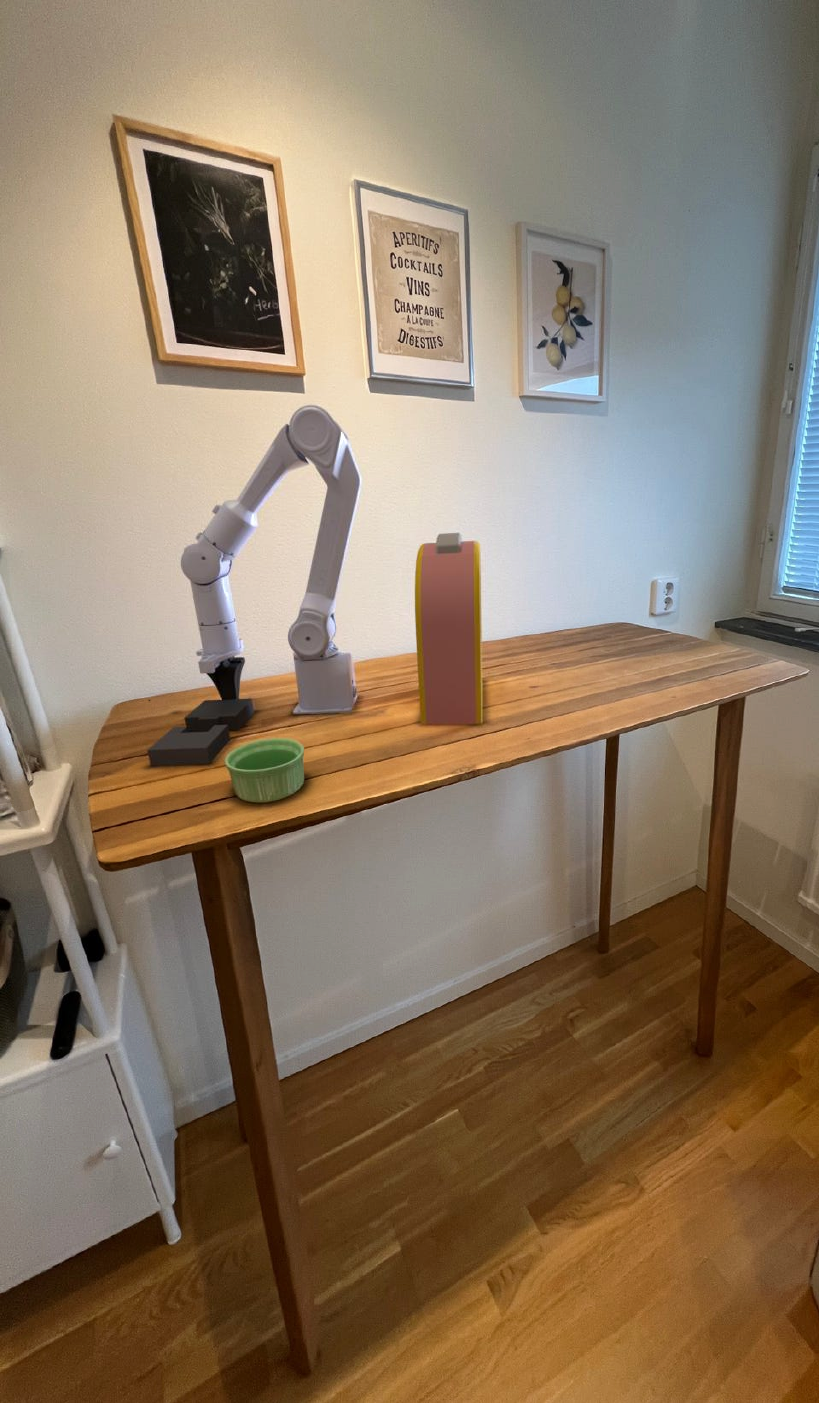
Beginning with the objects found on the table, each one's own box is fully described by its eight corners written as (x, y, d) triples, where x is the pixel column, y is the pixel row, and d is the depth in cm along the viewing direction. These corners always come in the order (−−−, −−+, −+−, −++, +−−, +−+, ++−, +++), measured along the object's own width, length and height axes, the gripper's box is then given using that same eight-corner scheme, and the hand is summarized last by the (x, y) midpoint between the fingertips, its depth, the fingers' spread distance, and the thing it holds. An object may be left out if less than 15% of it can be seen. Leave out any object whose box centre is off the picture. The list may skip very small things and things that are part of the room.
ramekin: (269, 764, 71) (264, 733, 69) (324, 778, 66) (319, 744, 65) (214, 796, 64) (207, 761, 62) (271, 813, 59) (265, 776, 58)
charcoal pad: (230, 739, 80) (227, 724, 79) (209, 764, 72) (206, 747, 71) (176, 742, 80) (173, 726, 79) (150, 766, 72) (146, 749, 72)
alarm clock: (482, 724, 80) (479, 535, 71) (420, 724, 81) (410, 538, 72) (482, 680, 99) (480, 528, 91) (432, 681, 101) (425, 531, 92)
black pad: (254, 711, 91) (252, 698, 90) (236, 732, 82) (233, 717, 81) (207, 713, 91) (204, 700, 90) (184, 734, 82) (181, 720, 82)
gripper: (209, 614, 94) (223, 690, 98) (172, 633, 80) (189, 719, 84) (250, 612, 93) (262, 688, 98) (219, 630, 80) (234, 717, 84)
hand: (231, 703), depth 91 cm, fingers closed
